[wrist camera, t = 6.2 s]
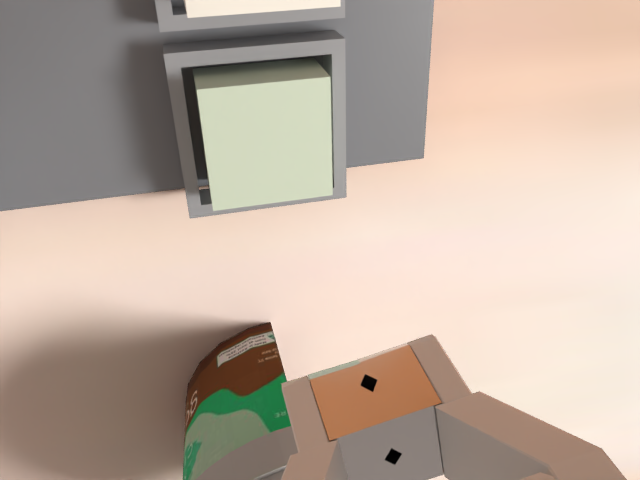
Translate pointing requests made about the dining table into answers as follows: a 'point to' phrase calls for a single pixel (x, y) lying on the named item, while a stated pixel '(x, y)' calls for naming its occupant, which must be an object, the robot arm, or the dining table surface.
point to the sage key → (265, 131)
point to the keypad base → (189, 91)
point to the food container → (238, 412)
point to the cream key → (251, 6)
